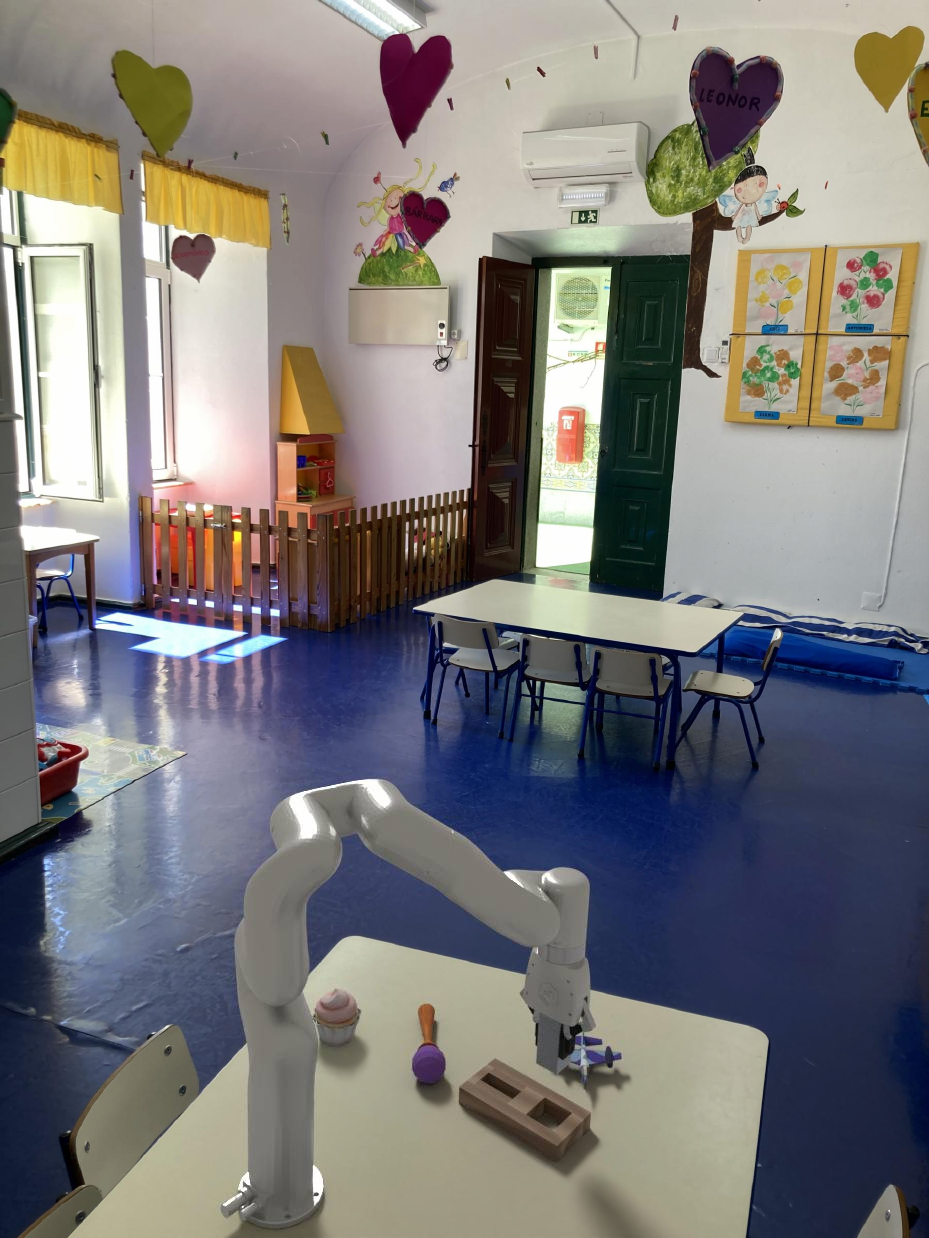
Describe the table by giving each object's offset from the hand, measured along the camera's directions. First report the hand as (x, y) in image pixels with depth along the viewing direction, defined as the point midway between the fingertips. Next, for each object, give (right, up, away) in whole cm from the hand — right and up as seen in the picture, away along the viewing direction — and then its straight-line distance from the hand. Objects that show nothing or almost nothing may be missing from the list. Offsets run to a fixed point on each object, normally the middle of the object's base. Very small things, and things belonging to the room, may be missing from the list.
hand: (554, 1047), depth 156 cm
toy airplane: (+7, -12, +18) cm, 23 cm away
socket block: (-5, -14, +6) cm, 16 cm away
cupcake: (-38, -9, +24) cm, 46 cm away
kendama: (-21, -10, +21) cm, 32 cm away
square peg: (0, -3, +1) cm, 3 cm away
